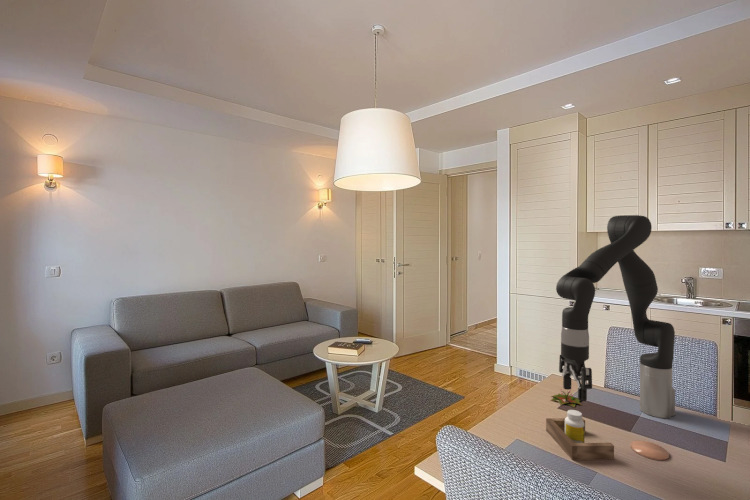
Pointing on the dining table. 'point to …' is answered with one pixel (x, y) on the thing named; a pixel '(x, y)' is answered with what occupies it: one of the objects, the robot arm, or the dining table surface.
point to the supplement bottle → (574, 426)
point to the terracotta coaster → (649, 450)
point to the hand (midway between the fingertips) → (574, 394)
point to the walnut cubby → (577, 449)
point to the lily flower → (567, 397)
